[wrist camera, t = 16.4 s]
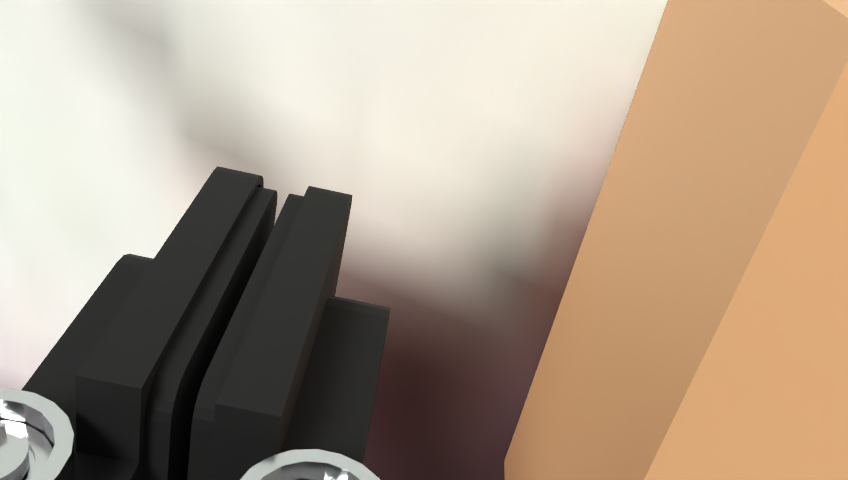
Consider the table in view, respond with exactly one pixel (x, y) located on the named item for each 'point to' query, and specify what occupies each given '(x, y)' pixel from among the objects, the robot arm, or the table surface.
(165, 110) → the table surface
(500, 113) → the table surface
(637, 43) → the table surface
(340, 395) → the robot arm
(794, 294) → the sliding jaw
